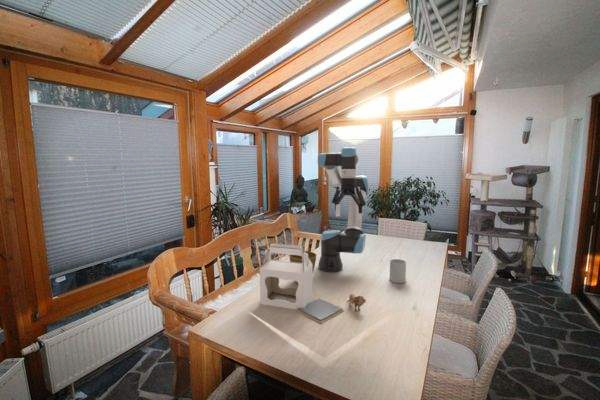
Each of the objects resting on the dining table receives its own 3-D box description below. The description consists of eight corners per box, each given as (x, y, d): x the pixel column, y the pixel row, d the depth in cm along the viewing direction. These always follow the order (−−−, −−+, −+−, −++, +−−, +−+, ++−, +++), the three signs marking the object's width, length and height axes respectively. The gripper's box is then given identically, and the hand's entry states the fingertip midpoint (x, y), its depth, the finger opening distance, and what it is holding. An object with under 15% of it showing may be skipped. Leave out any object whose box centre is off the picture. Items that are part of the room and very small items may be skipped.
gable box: (259, 304, 135) (258, 246, 132) (271, 293, 147) (270, 239, 144) (304, 311, 128) (304, 250, 125) (313, 299, 140) (313, 242, 137)
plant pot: (284, 283, 159) (283, 255, 157) (302, 275, 170) (302, 249, 168) (304, 290, 149) (303, 260, 147) (321, 282, 160) (321, 254, 158)
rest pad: (295, 310, 128) (295, 308, 128) (318, 300, 138) (318, 297, 138) (321, 323, 117) (321, 320, 117) (343, 310, 127) (343, 308, 127)
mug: (402, 284, 156) (403, 264, 155) (387, 281, 161) (387, 261, 160) (409, 277, 165) (409, 259, 164) (394, 274, 170) (395, 256, 169)
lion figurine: (367, 312, 126) (367, 296, 125) (359, 314, 124) (359, 298, 123) (350, 301, 136) (350, 286, 136) (342, 303, 134) (343, 288, 134)
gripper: (325, 177, 156) (325, 216, 159) (364, 178, 138) (364, 221, 141) (334, 177, 161) (334, 214, 164) (373, 177, 144) (372, 219, 146)
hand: (347, 217), depth 152 cm, fingers open, 13 cm apart
